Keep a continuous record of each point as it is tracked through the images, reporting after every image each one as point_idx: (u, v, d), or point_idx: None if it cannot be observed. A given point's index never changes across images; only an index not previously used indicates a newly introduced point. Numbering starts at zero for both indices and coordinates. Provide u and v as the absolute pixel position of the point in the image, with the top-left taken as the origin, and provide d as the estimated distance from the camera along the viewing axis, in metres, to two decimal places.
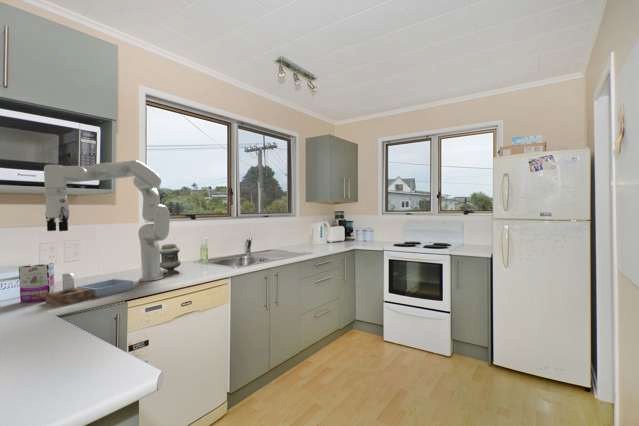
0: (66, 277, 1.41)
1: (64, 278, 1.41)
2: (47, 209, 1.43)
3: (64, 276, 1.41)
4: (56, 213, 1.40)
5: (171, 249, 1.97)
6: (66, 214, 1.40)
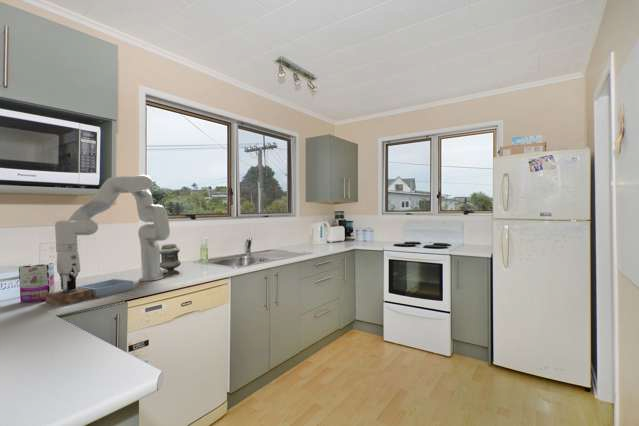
0: (66, 277, 1.41)
1: (64, 278, 1.41)
2: (58, 265, 1.42)
3: (64, 276, 1.41)
4: (67, 270, 1.39)
5: (171, 249, 1.97)
6: (75, 275, 1.40)
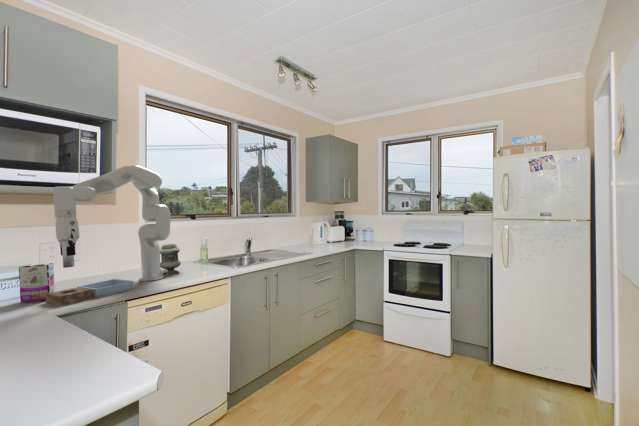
0: (65, 243, 1.41)
1: (63, 244, 1.41)
2: (57, 231, 1.42)
3: (63, 242, 1.41)
4: (66, 235, 1.39)
5: (171, 249, 1.97)
6: (74, 241, 1.40)
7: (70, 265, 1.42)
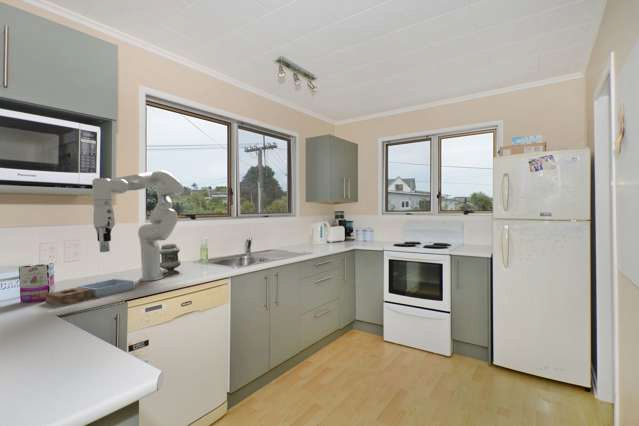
0: (102, 229, 1.55)
1: (100, 230, 1.55)
2: (95, 219, 1.56)
3: (100, 228, 1.55)
4: (104, 223, 1.53)
5: (171, 249, 1.97)
6: (110, 228, 1.54)
7: (106, 250, 1.56)
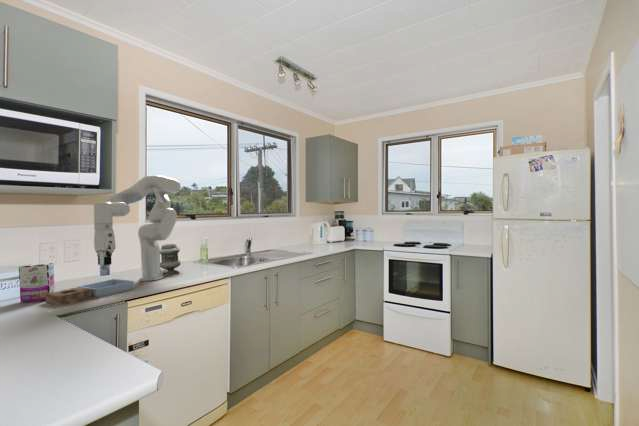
0: (103, 253, 1.55)
1: (101, 254, 1.55)
2: (96, 242, 1.56)
3: (101, 252, 1.55)
4: (105, 246, 1.53)
5: (171, 249, 1.97)
6: (111, 251, 1.54)
7: (106, 273, 1.56)
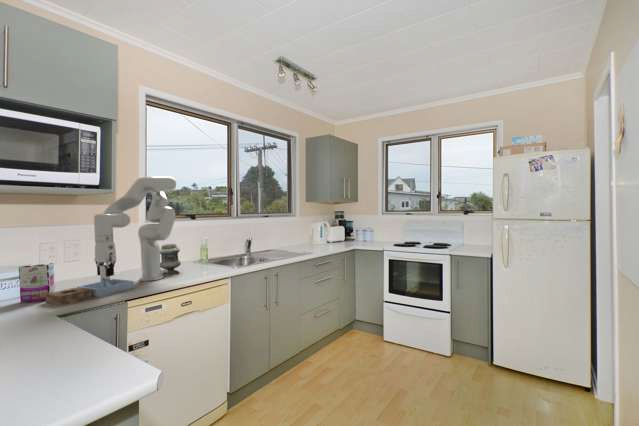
0: (103, 268, 1.55)
1: (101, 269, 1.55)
2: (96, 254, 1.56)
3: (101, 267, 1.55)
4: (105, 259, 1.54)
5: (171, 249, 1.97)
6: (113, 262, 1.54)
7: None
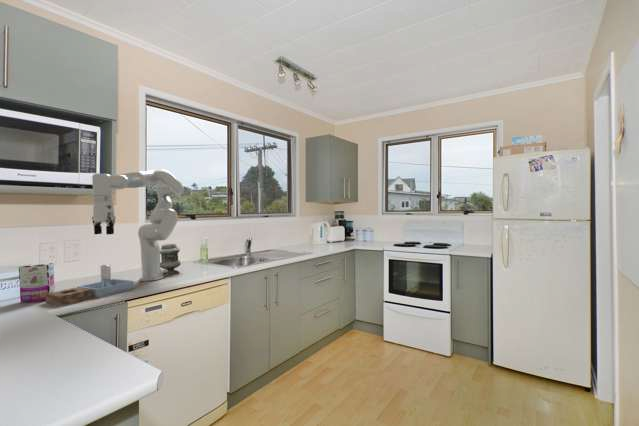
0: (104, 268, 1.56)
1: (102, 269, 1.55)
2: (95, 214, 1.56)
3: (102, 267, 1.55)
4: (104, 218, 1.53)
5: (171, 249, 1.97)
6: (113, 219, 1.53)
7: None
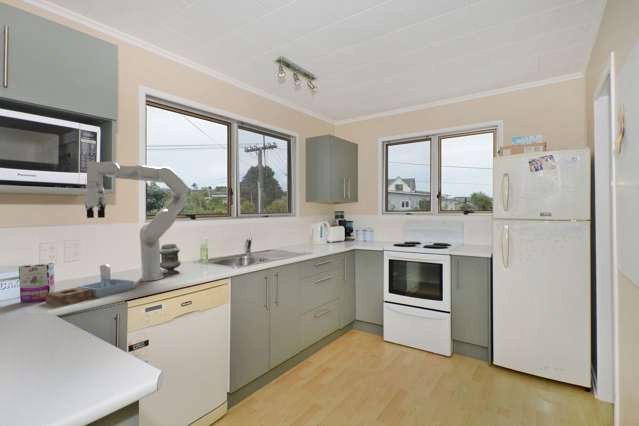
0: (103, 268, 1.55)
1: (102, 269, 1.55)
2: (87, 199, 1.69)
3: (102, 267, 1.55)
4: (95, 202, 1.66)
5: (171, 249, 1.97)
6: (104, 203, 1.66)
7: None
